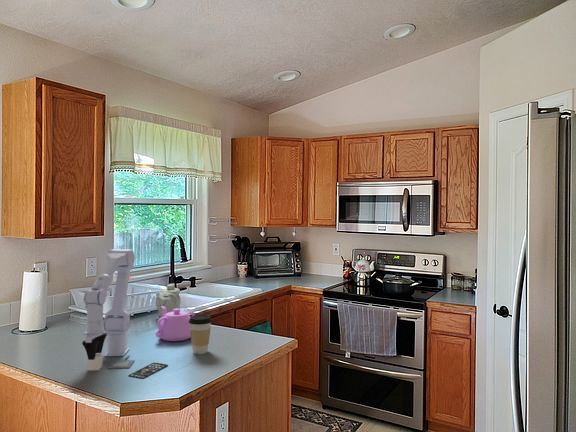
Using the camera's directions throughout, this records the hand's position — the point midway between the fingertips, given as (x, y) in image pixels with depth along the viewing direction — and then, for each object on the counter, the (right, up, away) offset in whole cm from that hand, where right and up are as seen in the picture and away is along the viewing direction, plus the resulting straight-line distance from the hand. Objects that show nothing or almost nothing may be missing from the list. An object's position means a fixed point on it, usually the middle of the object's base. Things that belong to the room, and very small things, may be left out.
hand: (95, 356), depth 170 cm
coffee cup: (+36, -5, +20) cm, 42 cm away
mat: (+9, -5, +4) cm, 11 cm away
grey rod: (+8, -5, +11) cm, 15 cm away
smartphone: (+21, -6, -2) cm, 22 cm away
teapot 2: (+20, -4, +42) cm, 46 cm away
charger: (0, -5, 0) cm, 5 cm away
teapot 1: (+6, -4, +78) cm, 78 cm away
